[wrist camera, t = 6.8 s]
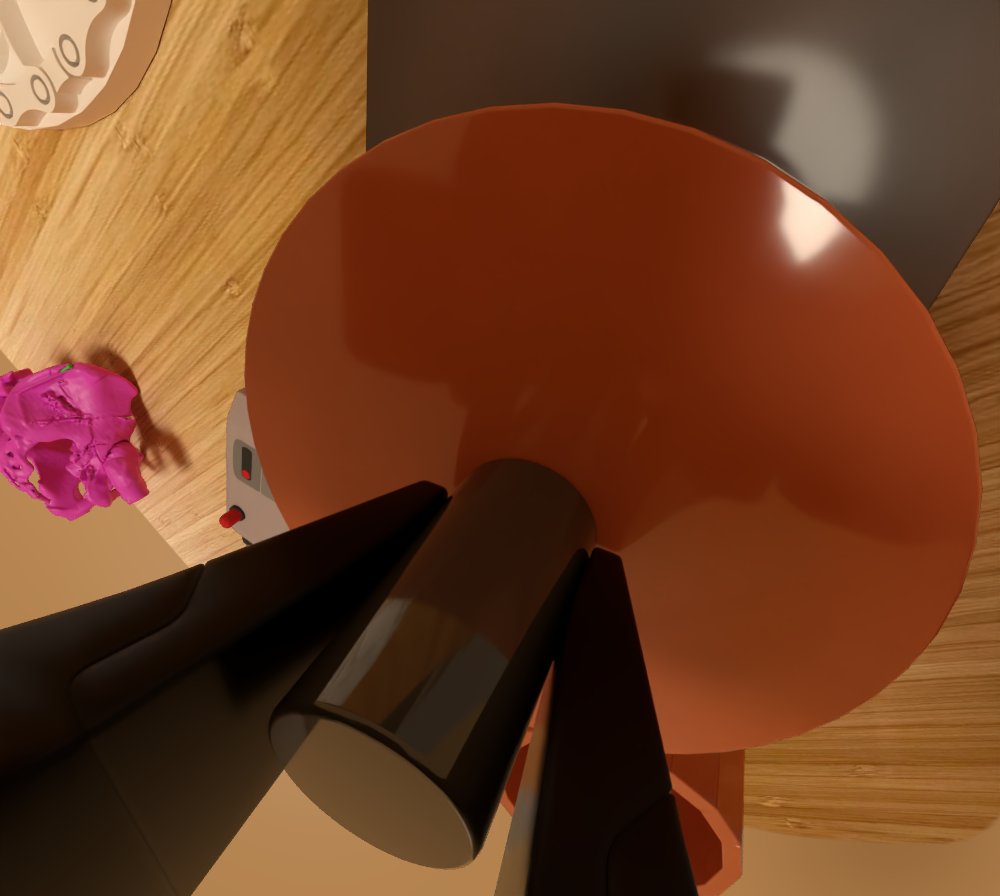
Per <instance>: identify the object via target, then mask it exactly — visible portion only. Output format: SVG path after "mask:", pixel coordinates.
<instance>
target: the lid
mask: <svg viewBox="0 0 1000 896" xmlns="http://www.w3.org/2000/svg"><path fill="white" fill-rule="evenodd" d="M244 376H245V388H246V400H247V411H248V416H249V421H250V426H251V431H252V436H253V441H254V445H255V448H256V451H257V455H258V458H259V461H260V464H261V467H262V471H263V474H264V477H265V479H266V481H267V484H268V486H269V488H270V491H271V493H272V496H273V498H274V500H275V503H276V505H277V507H278V509H279V511H280V513H281V514H282V516H283V518H284V520H285V522H286V524H287V526H288V528H289V530H292V529H294V528H297V527H300V526H302V525H305V524H307V523H310V522H313V521H315V520H318V519H321V518H323V517H326V516H329V515H331V514H334V513H337V512H339V511H342V510H344V509H347V508H350V507H352V506H355V505H358V504H360V503H363V502H366V501H368V500H371V499H374V498H376V497H379V496H381V495H384V494H387V493H389V492H392V491H395V490H397V489H400V488H403V487H405V486H408V485H411V484H413V483H416V482H419V481H422V480H427V481H430V482H433V483H435V484H438V485H441V486H443V487H445V488H446V489H447V491H448V499H447V500H446V501H445V502H444V503H443V505H442V506H441V507H440V508H439V509H438V511H437V512H436V513H435V514H434V516H433V517H432V518H431V519H430V520H429V522H428V523H427V524H426V525H425V526H424V528H423V529H422V530H421V531H420V533H419V534H418V535H417V536H416V537H415V539H414V540H413V541H412V542H411V543H410V545H409V546H408V547H407V548H406V549H405V551H404V552H403V553H402V554H401V556H400V557H399V558H398V559H397V560H396V562H395V563H394V564H393V565H392V566H391V568H390V569H389V570H388V571H387V572H386V574H385V575H384V576H383V577H382V579H381V580H380V581H379V582H378V583H377V585H376V586H375V587H374V588H373V589H372V591H371V592H370V593H369V594H368V595H367V597H366V598H365V599H364V600H363V602H362V603H361V604H360V605H359V606H358V608H357V609H356V610H355V611H354V612H353V614H352V615H351V616H350V617H349V618H348V620H347V621H346V622H345V623H344V625H343V626H342V627H341V628H340V629H339V631H338V632H337V633H336V634H335V635H334V637H333V638H332V639H331V640H330V642H329V643H328V644H327V645H326V646H325V648H324V649H323V650H322V651H321V652H320V654H319V655H318V656H317V657H316V658H315V660H314V661H313V662H312V663H311V665H310V666H309V667H308V668H307V669H306V671H305V672H304V673H303V674H302V675H301V677H300V678H299V679H298V680H297V681H296V683H295V684H294V685H293V686H292V688H291V689H290V690H289V691H288V692H287V694H286V695H285V696H284V697H283V698H282V700H281V701H280V702H279V703H278V704H277V706H276V707H275V708H274V710H273V712H272V714H271V717H270V719H269V722H268V737H269V741H270V744H271V747H272V749H273V751H274V753H275V755H276V757H277V759H278V760H279V762H280V764H281V765H282V767H283V768H284V769H285V771H286V772H287V773H288V775H289V776H290V778H291V779H292V780H293V781H294V783H295V784H296V785H297V786H298V787H299V788H300V790H301V791H302V792H303V793H304V794H305V795H306V796H307V797H308V798H309V799H310V800H311V801H312V802H313V803H315V804H316V805H317V806H318V807H319V808H320V809H321V810H322V811H324V812H325V813H326V814H327V815H328V816H330V817H331V818H332V819H333V820H335V821H336V822H338V823H339V824H340V825H341V826H343V827H344V828H346V829H347V830H349V831H350V832H352V833H353V834H355V835H356V836H358V837H360V838H361V839H363V840H364V841H366V842H368V843H369V844H371V845H373V846H375V847H376V848H379V849H381V850H382V851H384V852H386V853H388V854H391V855H393V856H395V857H398V858H400V859H403V860H406V861H408V862H412V863H415V864H418V865H422V866H426V867H431V868H436V869H445V870H446V869H447V870H449V869H459V868H463V867H465V866H468V865H469V864H470V863H471V862H473V861H474V860H475V858H476V857H477V856H478V855H479V854H480V852H481V850H482V848H483V846H484V843H485V841H486V838H487V835H488V833H489V830H490V827H491V825H492V822H493V819H494V817H495V814H496V811H497V809H498V806H499V803H500V801H501V798H502V796H503V793H504V790H505V788H506V785H507V782H508V780H509V777H510V774H511V772H512V769H513V766H514V764H515V761H516V758H517V756H518V753H519V750H520V748H521V745H522V743H523V740H524V737H525V735H526V732H527V729H528V727H532V728H534V723H535V719H536V715H537V711H538V706H539V702H540V698H541V695H542V691H543V687H544V684H545V682H546V679H547V676H548V674H549V671H550V668H551V666H552V663H553V660H554V658H555V655H556V651H557V648H558V645H559V641H560V637H561V634H562V631H563V628H564V625H565V622H566V619H567V616H568V613H569V611H570V608H571V605H572V602H573V599H574V596H575V593H576V591H577V588H578V586H579V583H580V581H581V578H582V575H583V573H584V570H585V568H586V565H587V563H588V560H589V558H590V555H591V553H592V550H593V549H594V548H595V547H599V548H602V549H605V550H607V551H610V552H612V553H615V554H617V555H619V556H620V557H621V559H622V562H623V566H624V570H625V575H626V579H627V584H628V588H629V593H630V597H631V602H632V606H633V611H634V615H635V620H636V624H637V629H638V633H639V638H640V642H641V647H642V651H643V656H644V660H645V665H646V669H647V674H648V678H649V683H650V687H651V692H652V696H653V701H654V705H655V710H656V714H657V719H658V723H659V728H660V732H661V737H662V741H663V746H664V750H665V754H703V753H719V752H728V751H734V750H740V749H746V748H752V747H758V746H764V745H767V744H771V743H774V742H778V741H781V740H785V739H788V738H792V737H795V736H799V735H802V734H804V733H807V732H809V731H811V730H814V729H816V728H818V727H821V726H823V725H825V724H828V723H830V722H832V721H835V720H837V719H839V718H841V717H843V716H844V715H846V714H847V713H849V712H851V711H852V710H854V709H856V708H857V707H859V706H861V705H862V704H864V703H866V702H867V701H869V700H871V699H872V698H874V697H875V696H877V695H878V694H879V693H880V692H881V691H882V690H884V689H885V688H886V687H887V686H888V685H890V684H891V683H892V682H893V681H894V680H896V679H897V678H898V677H899V676H900V675H901V674H903V673H904V672H905V671H906V670H907V669H908V668H909V667H910V666H911V665H912V664H913V663H914V661H915V660H916V659H917V658H918V657H919V655H920V654H921V653H922V652H923V651H924V649H925V648H926V647H927V646H928V645H929V643H930V642H931V641H932V640H933V639H934V637H935V636H936V635H937V634H938V632H939V630H940V628H941V627H942V625H943V623H944V621H945V619H946V618H947V616H948V614H949V612H950V611H951V609H952V607H953V605H954V603H955V602H956V600H957V598H958V596H959V594H960V593H961V590H962V587H963V584H964V580H965V577H966V574H967V571H968V568H969V565H970V562H971V559H972V556H973V552H974V549H975V546H976V543H977V535H978V526H979V517H980V507H981V498H982V489H983V488H982V478H981V467H980V457H979V447H978V436H977V429H976V425H975V422H974V419H973V416H972V412H971V409H970V406H969V402H968V399H967V396H966V392H965V389H964V386H963V382H962V379H961V376H960V372H959V369H958V367H957V365H956V363H955V362H954V360H953V358H952V356H951V354H950V352H949V350H948V348H947V346H946V344H945V342H944V340H943V339H942V337H941V335H940V333H939V331H938V329H937V327H936V325H935V323H934V321H933V319H932V318H931V316H930V314H929V312H928V310H927V308H926V307H925V306H924V304H923V303H922V302H921V300H920V299H919V298H918V297H917V295H916V294H915V293H914V291H913V290H912V289H911V288H910V286H909V285H908V284H907V282H906V281H905V280H904V279H903V277H902V276H901V275H900V273H899V272H898V271H897V269H896V268H895V267H894V266H893V264H892V263H891V262H890V260H889V259H888V258H887V257H886V255H885V254H884V253H883V251H882V250H881V249H880V248H878V247H877V246H876V245H875V244H874V243H873V242H872V241H871V240H870V239H869V238H868V237H867V236H866V235H865V234H864V233H862V232H861V231H860V230H859V229H858V228H857V227H856V226H855V225H854V224H853V223H852V222H850V221H849V220H848V219H847V218H846V217H845V216H844V215H843V214H842V213H841V212H840V211H838V210H837V209H836V208H835V207H834V206H833V205H832V204H831V203H830V202H829V201H828V200H826V199H825V198H824V197H823V196H822V195H821V194H819V193H818V192H816V191H814V190H813V189H811V188H810V187H808V186H807V185H805V184H804V183H802V182H801V181H799V180H798V179H796V178H795V177H793V176H792V175H790V174H788V173H787V172H785V171H784V170H782V169H781V168H779V167H778V166H776V165H775V164H773V163H772V162H770V161H769V160H767V159H765V158H764V157H762V156H760V155H758V154H756V153H753V152H751V151H749V150H747V149H744V148H742V147H740V146H738V145H735V144H733V143H731V142H729V141H727V140H724V139H722V138H720V137H718V136H715V135H713V134H711V133H709V132H706V131H704V130H702V129H700V128H697V127H693V126H689V125H686V124H682V123H678V122H674V121H671V120H667V119H663V118H659V117H656V116H652V115H648V114H644V113H641V112H637V111H633V110H627V109H618V108H608V107H598V106H588V105H578V104H568V103H559V102H548V103H532V104H516V105H500V106H489V107H485V108H480V109H476V110H472V111H468V112H463V113H459V114H455V115H451V116H446V117H442V118H438V119H433V120H431V121H429V122H426V123H424V124H422V125H419V126H417V127H415V128H412V129H410V130H408V131H405V132H403V133H400V134H398V135H396V136H393V137H391V138H389V139H386V140H384V141H382V142H381V143H379V144H378V145H376V146H375V147H373V148H372V149H370V150H369V151H367V152H365V153H364V154H362V155H361V156H359V157H358V158H356V159H355V160H353V161H352V162H350V163H349V164H347V165H345V166H344V167H342V168H341V169H340V170H339V171H338V172H337V173H336V174H335V175H334V176H333V177H332V178H331V179H330V180H329V181H327V182H326V183H325V184H324V185H323V186H322V187H321V188H320V189H319V190H318V191H317V192H316V193H315V194H314V195H312V196H311V197H310V198H309V199H308V201H307V202H306V203H305V205H304V206H303V207H302V209H301V210H300V211H299V213H298V214H297V215H296V217H295V218H294V219H293V221H292V222H291V223H290V225H289V226H288V227H287V229H286V230H285V231H284V233H283V234H282V236H281V238H280V240H279V242H278V243H277V245H276V247H275V249H274V251H273V253H272V255H271V257H270V259H269V261H268V263H267V265H266V267H265V268H264V271H263V274H262V277H261V280H260V283H259V286H258V289H257V292H256V295H255V298H254V301H253V304H252V309H251V315H250V320H249V326H248V332H247V337H246V350H245V375H244Z"/></svg>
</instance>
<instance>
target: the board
mask: <svg viewBox="0 0 1000 896" xmlns="http://www.w3.org/2000/svg"><path fill="white" fill-rule="evenodd" d="M548 102H559V103H568V104H578V105H588V106H598V107H608V108H618V109H627V110H633V111H637V112H641V113H644V114H648V115H652V116H656V117H659V118H663V119H667V120H671V121H674V122H678V123H682V124H686V125H689V126H693V127H697V128H700V129H702V130H704V131H706V132H709V133H711V134H713V135H715V136H718V137H720V138H722V139H724V140H727V141H729V142H731V143H733V144H735V145H738V146H740V147H742V148H744V149H747V150H749V151H751V152H753V153H756V154H758V155H760V156H762V157H764V158H765V159H767V160H769V161H770V162H772V163H773V164H775V165H776V166H778V167H779V168H781V169H782V170H784V171H785V172H787V173H788V174H790V175H792V176H793V177H795V178H796V179H798V180H799V181H801V182H802V183H804V184H805V185H807V186H808V187H810V188H811V189H813V190H814V191H816V192H818V193H819V194H821V195H822V196H823V197H824V198H825V199H826V200H828V201H829V202H830V203H831V204H832V205H833V206H834V207H835V208H836V209H837V210H838V211H840V212H841V213H842V214H843V215H844V216H845V217H846V218H847V219H848V220H849V221H850V222H852V223H853V224H854V225H855V226H856V227H857V228H858V229H859V230H860V231H861V232H862V233H864V234H865V235H866V236H867V237H868V238H869V239H870V240H871V241H872V242H873V243H874V244H875V245H876V246H877V247H878V248H880V249H881V250H882V251H883V253H884V254H885V255H886V257H887V258H888V259H889V260H890V262H891V263H892V264H893V266H894V267H895V268H896V269H897V271H898V272H899V273H900V275H901V276H902V277H903V279H904V280H905V281H906V282H907V284H908V285H909V286H910V288H911V289H912V290H913V291H914V293H915V294H916V295H917V297H918V298H919V299H920V300H921V302H922V303H923V304H924V306H925V307H926V308H927V310H928V311H929V309H930V308H931V306H932V304H933V303H934V301H935V300H936V298H937V297H938V295H939V294H940V292H941V290H942V289H943V287H944V286H945V284H946V283H947V281H948V280H949V278H950V276H951V275H952V273H953V272H954V270H955V269H956V267H957V265H958V264H959V262H960V261H961V259H962V258H963V256H964V255H965V253H966V251H967V250H968V248H969V247H970V245H971V244H972V242H973V241H974V239H975V237H976V236H977V234H978V233H979V231H980V230H981V228H982V226H983V225H984V223H985V222H986V220H987V219H988V217H989V216H990V214H991V212H992V211H993V209H994V208H995V206H996V205H997V203H998V202H999V200H1000V0H368V43H367V120H366V152H367V151H369V150H370V149H372V148H373V147H375V146H376V145H378V144H379V143H381V142H382V141H384V140H386V139H389V138H391V137H393V136H396V135H398V134H400V133H403V132H405V131H408V130H410V129H412V128H415V127H417V126H419V125H422V124H424V123H426V122H429V121H431V120H433V119H438V118H442V117H446V116H451V115H455V114H459V113H463V112H468V111H472V110H476V109H480V108H485V107H489V106H500V105H516V104H532V103H548Z"/></svg>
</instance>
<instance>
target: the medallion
mask: <svg viewBox="0 0 1000 896" xmlns="http://www.w3.org/2000/svg"><path fill="white" fill-rule="evenodd" d="M170 4H171V0H0V125H4V126H10V127H16V128H22V129H28V130H54V129H68V128H75V127H82V126H88V125H91V124H93V123H95V122H97V121H98V120H100V119H102V118H104V117H106V116H108V115H109V114H111V113H113V112H115V111H116V110H117V109H118V108H119V106H120V105H121V104H122V103H123V102H124V101H125V100H126V99H127V98H128V97H129V96H130V95H131V94H132V93H133V91H134V90H135V89H136V88H137V87H138V85H139V83H140V81H141V79H142V77H143V76H144V74H145V72H146V70H147V68H148V66H149V64H150V62H151V60H152V59H153V57H154V55H155V53H156V51H157V47H158V44H159V41H160V37H161V34H162V31H163V27H164V24H165V21H166V17H167V14H168V11H169V7H170Z"/></svg>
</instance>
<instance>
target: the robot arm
mask: <svg viewBox="0 0 1000 896" xmlns="http://www.w3.org/2000/svg"><path fill="white" fill-rule="evenodd" d="M447 499H448V491H447V489H446V488H445V487H443V486H441V485H438V484H435V483H433V482H430V481H427V480H422V481H419V482H416V483H413V484H411V485H408V486H405V487H403V488H400V489H397V490H395V491H392V492H389V493H387V494H384V495H381V496H379V497H376V498H374V499H371V500H368V501H366V502H363V503H360V504H358V505H355V506H352V507H350V508H347V509H344V510H342V511H339V512H337V513H334V514H331V515H329V516H326V517H323V518H321V519H318V520H315V521H313V522H310V523H307V524H305V525H302V526H300V527H297V528H294V529H292V530H289V531H286V532H284V533H281V534H278V535H276V536H273V537H270V538H268V539H265V540H263V541H260V542H257V543H255V544H252V545H249V546H247V547H244V548H241V549H239V550H236V551H233V552H231V553H228V554H225V555H223V556H220V557H218V558H215V559H212V560H210V561H208V562H207V563H206V564H205V565H204V564H199V565H196V566H193V567H191V568H188V569H185V570H183V571H180V572H177V573H175V574H172V575H169V576H167V577H164V578H161V579H158V580H155V581H152V582H150V583H147V584H144V585H141V586H139V587H136V588H133V589H130V590H127V591H124V592H121V593H118V594H115V595H112V596H109V597H105V598H102V599H99V600H96V601H93V602H90V603H87V604H83V605H80V606H78V607H74V608H71V609H67V610H64V611H61V612H57V613H54V614H51V615H48V616H44V617H41V618H38V619H34V620H31V621H28V622H24V623H21V624H18V625H14V626H11V627H8V628H4V629H1V630H0V896H191V895H192V894H193V892H194V891H195V890H196V888H197V887H198V885H199V884H200V883H201V881H202V880H203V879H204V877H205V876H206V875H207V873H208V872H209V870H210V869H211V868H212V866H213V865H214V864H215V862H216V861H217V860H218V858H219V857H220V856H221V854H222V853H223V851H224V850H225V849H226V847H227V846H228V844H229V843H230V842H231V841H232V839H233V838H234V836H235V835H236V834H237V832H238V831H239V830H240V828H241V827H242V826H243V824H244V823H245V821H246V820H247V819H248V817H249V816H250V815H251V813H252V812H253V811H254V809H255V808H256V807H257V805H258V804H259V802H260V801H261V800H262V798H263V797H264V796H265V794H266V793H267V792H268V790H269V789H270V788H271V786H272V785H273V783H274V782H275V781H276V779H277V778H278V776H279V775H280V774H281V773H282V771H283V770H284V768H283V767H282V765H281V764H280V762H279V760H278V759H277V757H276V755H275V753H274V751H273V749H272V747H271V744H270V741H269V737H268V722H269V719H270V717H271V714H272V712H273V710H274V708H275V707H276V706H277V704H278V703H279V702H280V701H281V700H282V698H283V697H284V696H285V695H286V694H287V692H288V691H289V690H290V689H291V688H292V686H293V685H294V684H295V683H296V681H297V680H298V679H299V678H300V677H301V675H302V674H303V673H304V672H305V671H306V669H307V668H308V667H309V666H310V665H311V663H312V662H313V661H314V660H315V658H316V657H317V656H318V655H319V654H320V652H321V651H322V650H323V649H324V648H325V646H326V645H327V644H328V643H329V642H330V640H331V639H332V638H333V637H334V635H335V634H336V633H337V632H338V631H339V629H340V628H341V627H342V626H343V625H344V623H345V622H346V621H347V620H348V618H349V617H350V616H351V615H352V614H353V612H354V611H355V610H356V609H357V608H358V606H359V605H360V604H361V603H362V602H363V600H364V599H365V598H366V597H367V595H368V594H369V593H370V592H371V591H372V589H373V588H374V587H375V586H376V585H377V583H378V582H379V581H380V580H381V579H382V577H383V576H384V575H385V574H386V572H387V571H388V570H389V569H390V568H391V566H392V565H393V564H394V563H395V562H396V560H397V559H398V558H399V557H400V556H401V554H402V553H403V552H404V551H405V549H406V548H407V547H408V546H409V545H410V543H411V542H412V541H413V540H414V539H415V537H416V536H417V535H418V534H419V533H420V531H421V530H422V529H423V528H424V526H425V525H426V524H427V523H428V522H429V520H430V519H431V518H432V517H433V516H434V514H435V513H436V512H437V511H438V509H439V508H440V507H441V506H442V505H443V503H444V502H445V501H446V500H447ZM672 789H673V786H672V782H671V777H670V773H669V768H668V764H667V759H666V755H665V750H664V746H663V741H662V737H661V732H660V728H659V723H658V719H657V714H656V710H655V705H654V701H653V696H652V692H651V687H650V683H649V678H648V674H647V669H646V665H645V660H644V656H643V651H642V647H641V642H640V638H639V633H638V629H637V624H636V620H635V615H634V611H633V606H632V602H631V597H630V593H629V588H628V584H627V579H626V575H625V570H624V566H623V562H622V559H621V557H620V556H619V555H617V554H615V553H612V552H610V551H607V550H605V549H602V548H599V547H595V548H594V549H593V550H592V553H591V555H590V558H589V560H588V563H587V565H586V568H585V570H584V573H583V575H582V578H581V581H580V583H579V586H578V588H577V591H576V593H575V596H574V599H573V602H572V605H571V608H570V611H569V613H568V616H567V619H566V622H565V625H564V628H563V631H562V634H561V637H560V641H559V645H558V648H557V651H556V655H555V658H554V660H553V663H552V666H551V668H550V671H549V674H548V676H547V679H546V682H545V684H544V687H543V691H542V695H541V698H540V702H539V706H538V711H537V715H536V719H535V723H534V728H533V732H532V736H531V741H530V745H529V749H528V753H527V758H526V762H525V766H524V770H523V775H522V779H521V783H520V787H519V792H518V796H517V800H516V805H515V809H514V813H513V817H512V822H511V826H510V830H509V834H508V839H507V843H506V847H505V852H504V856H503V860H502V864H501V869H500V873H499V877H498V882H497V886H496V890H495V895H494V896H699V894H698V890H697V886H696V882H695V878H694V874H693V870H692V866H691V862H690V858H689V854H688V850H687V846H686V842H685V838H684V834H683V830H682V825H681V821H680V816H679V812H678V807H677V803H676V798H675V796H674V795H673V794H671V791H672Z"/></svg>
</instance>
